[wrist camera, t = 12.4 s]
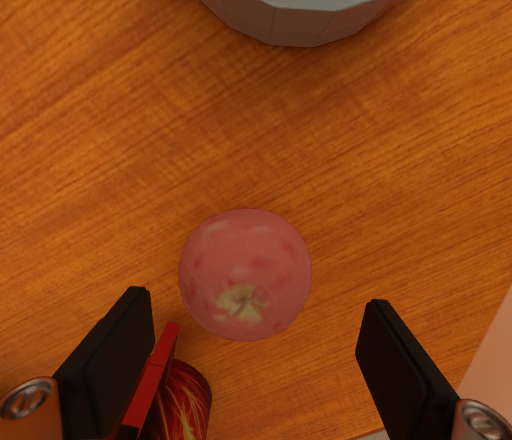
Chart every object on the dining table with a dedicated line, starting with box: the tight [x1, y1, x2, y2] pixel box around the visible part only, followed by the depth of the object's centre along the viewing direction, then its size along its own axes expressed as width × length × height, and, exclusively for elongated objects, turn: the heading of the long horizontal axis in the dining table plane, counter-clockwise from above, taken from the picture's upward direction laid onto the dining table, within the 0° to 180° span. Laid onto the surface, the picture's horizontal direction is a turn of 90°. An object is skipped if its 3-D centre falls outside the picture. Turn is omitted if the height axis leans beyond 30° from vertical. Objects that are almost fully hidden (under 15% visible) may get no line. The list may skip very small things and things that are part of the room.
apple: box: [178, 208, 312, 341], centre depth 15 cm, size 7×7×8 cm
